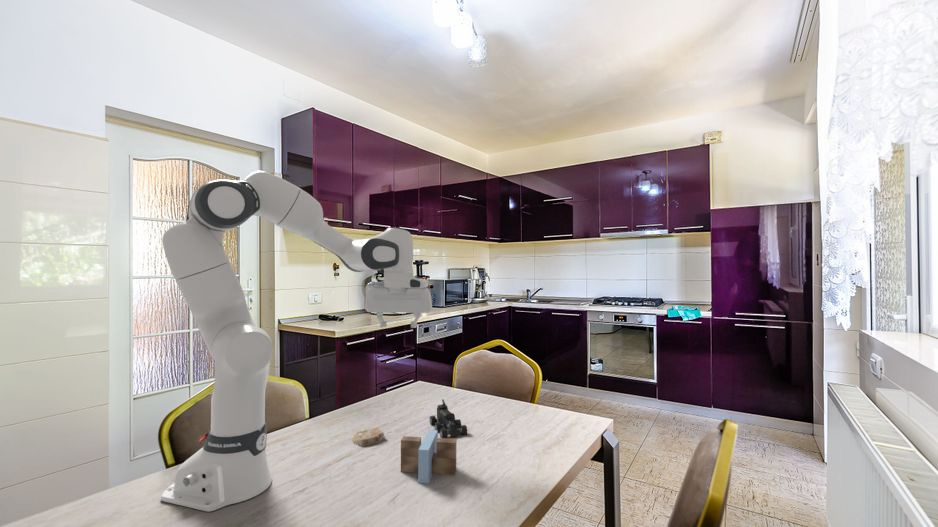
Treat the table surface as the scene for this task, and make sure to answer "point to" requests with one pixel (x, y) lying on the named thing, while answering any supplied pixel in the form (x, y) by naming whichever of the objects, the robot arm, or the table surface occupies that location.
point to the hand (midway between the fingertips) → (398, 327)
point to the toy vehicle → (447, 422)
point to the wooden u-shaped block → (440, 461)
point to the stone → (368, 437)
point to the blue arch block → (427, 456)
